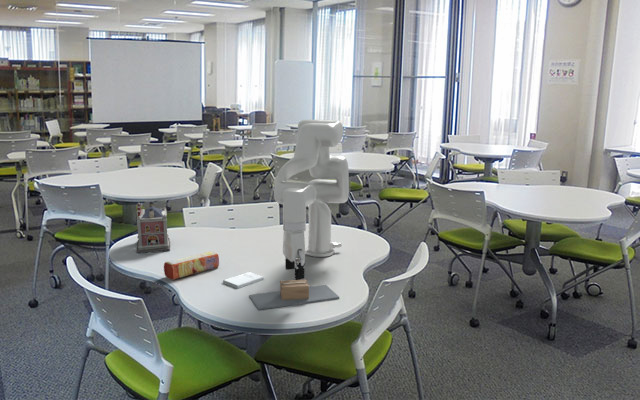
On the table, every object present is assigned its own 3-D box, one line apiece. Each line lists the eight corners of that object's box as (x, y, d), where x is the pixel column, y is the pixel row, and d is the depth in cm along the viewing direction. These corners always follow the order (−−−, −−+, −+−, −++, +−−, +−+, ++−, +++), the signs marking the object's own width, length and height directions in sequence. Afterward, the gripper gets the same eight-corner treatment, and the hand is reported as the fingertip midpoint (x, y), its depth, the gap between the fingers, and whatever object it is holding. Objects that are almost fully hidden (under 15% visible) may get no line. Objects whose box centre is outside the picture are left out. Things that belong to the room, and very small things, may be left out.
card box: (280, 293, 189) (280, 280, 188) (306, 291, 191) (306, 278, 190) (282, 300, 183) (282, 286, 182) (308, 298, 185) (308, 285, 184)
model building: (137, 241, 249) (134, 197, 244) (170, 239, 253) (167, 196, 248) (135, 253, 231) (133, 207, 227) (170, 251, 235) (168, 205, 231)
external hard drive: (223, 284, 200) (248, 275, 209) (237, 289, 195) (263, 280, 204) (222, 279, 199) (248, 271, 209) (237, 285, 194) (263, 276, 203)
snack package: (210, 264, 220) (210, 248, 218) (220, 268, 215) (220, 251, 214) (163, 277, 205) (162, 260, 203) (173, 282, 200) (172, 264, 199)
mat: (325, 286, 197) (326, 284, 197) (339, 298, 187) (339, 296, 186) (249, 296, 187) (249, 294, 187) (258, 310, 176) (258, 308, 176)
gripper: (275, 219, 188) (276, 266, 192) (292, 234, 173) (292, 285, 177) (296, 217, 191) (296, 264, 195) (314, 231, 175) (314, 282, 179)
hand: (294, 274), depth 186 cm, fingers open, 9 cm apart
